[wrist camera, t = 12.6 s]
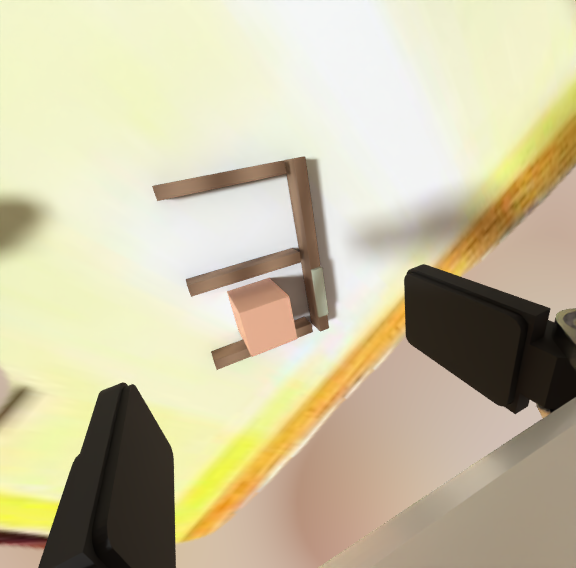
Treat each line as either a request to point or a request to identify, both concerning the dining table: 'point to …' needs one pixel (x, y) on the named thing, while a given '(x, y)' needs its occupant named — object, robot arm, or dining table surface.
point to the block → (263, 315)
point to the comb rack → (271, 262)
